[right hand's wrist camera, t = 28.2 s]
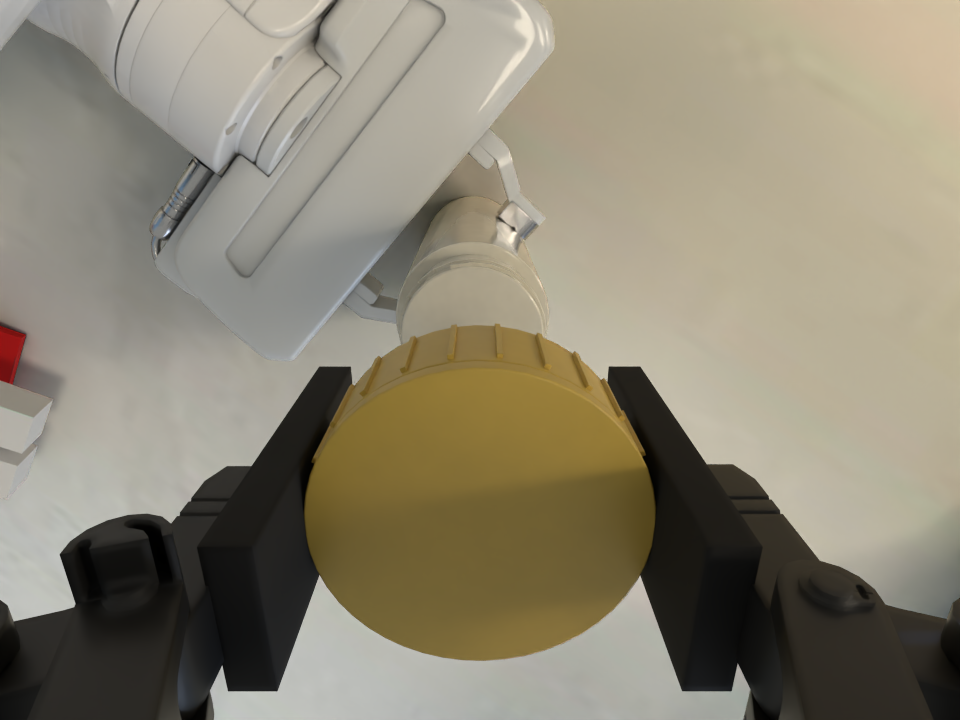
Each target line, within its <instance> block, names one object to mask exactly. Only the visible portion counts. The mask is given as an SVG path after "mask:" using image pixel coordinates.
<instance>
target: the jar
mask: <svg viewBox="0 0 960 720" xmlns="http://www.w3.org/2000/svg"><path fill="white" fill-rule="evenodd" d="M500 207H501V205H500V204H498V203H497V202H495V201H493V200H491V199H487V198H484V197H479V196H469V197H463V198H459V199H456V200H454V201H452V202H450V203H448V204H447V205H445V206H444V207H443V208H442V209H441V210H440V211H439V212H438V213H437V214H436V215H435V217H434V218H433V220H432V222H431V224H430V226H429V228H428V230H427V233H426V235H425V237H424V239H423V241H422V244H421V246H420V248H419V250H418V252H417V255H416V257H415V259H414V261H413V263H412V266H411V268H410V270H409V272H408V274H407V277H406V279H405V281H404V283H403V286H402V288H401V290H400V293H399V297H398V300H397V307H396V323H397V330H398V333H399V337H400V341H401V345H402V344H404V343H406V342H408V341H409V340H410V337H412V336H416V338H417V337H420V336H423V335H425V334H428V333H431V332H434V331H438V330H443V329H448V328H451V325H455V324H457V327H460V326H472V325H485V326H495V323H496V324H500V326H501V327H506V328H512V329H518V330H521V331H525V332H528V333H532V334H535V335H536V334H537V333H540V334H542V336H543V338H545V339H546V334H547V329H548V322H549V307H548V301H547V297H546V294H545V291H544V288H543V285H542V283H541V281H540V278H539V276H538V274H537V271H536V269H535V267H534V264H533V262H532V260H531V257H530V255H529V253H528V250H527V248H526V246H525V243H524V241H523V239H522V238H521V237H520V236H519V235H518V234H517V233H516V232H515V229H514V227H512V226H509V225H507V224H506V223H505V222H504V221H503V220H502V219H500V218H499V217H498V213H497V211H498V210H499V209H500Z"/></svg>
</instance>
